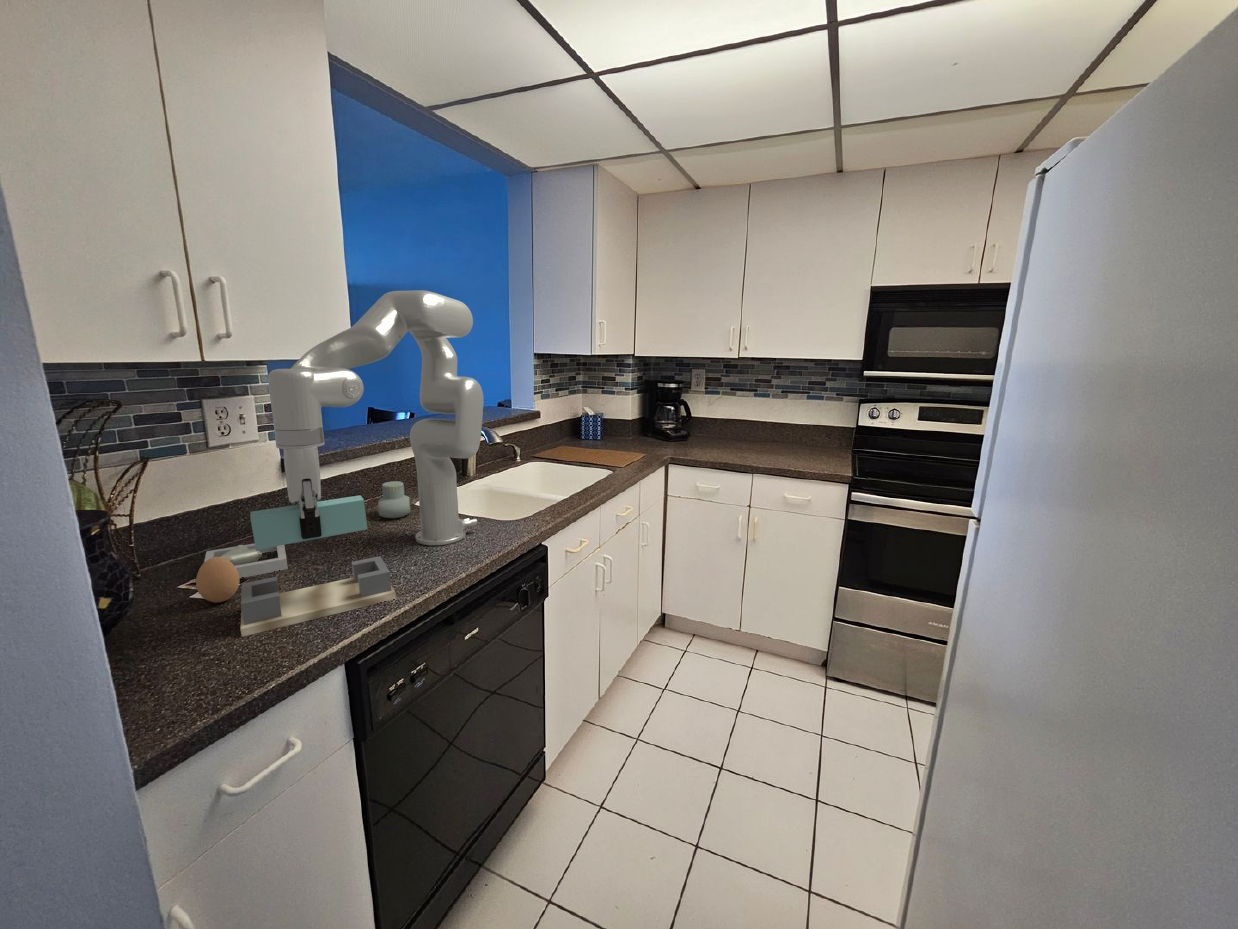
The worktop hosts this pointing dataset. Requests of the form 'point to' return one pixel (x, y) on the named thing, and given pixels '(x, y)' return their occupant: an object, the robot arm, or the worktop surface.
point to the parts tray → (256, 567)
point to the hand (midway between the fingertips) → (310, 533)
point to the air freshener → (393, 500)
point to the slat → (285, 522)
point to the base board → (316, 604)
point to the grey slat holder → (265, 600)
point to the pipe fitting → (242, 555)
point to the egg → (217, 579)
